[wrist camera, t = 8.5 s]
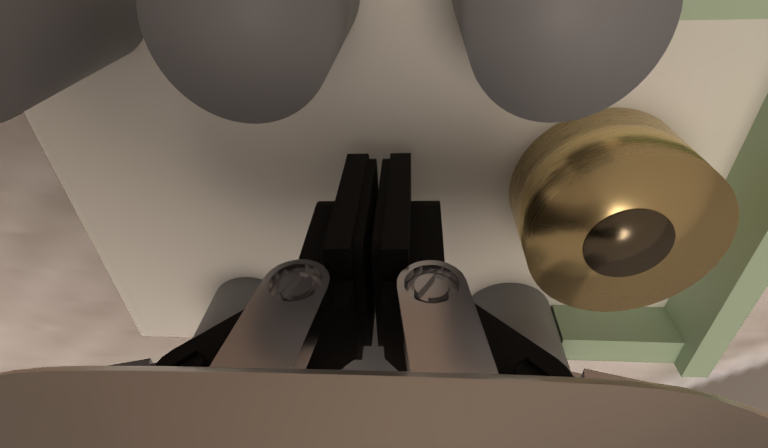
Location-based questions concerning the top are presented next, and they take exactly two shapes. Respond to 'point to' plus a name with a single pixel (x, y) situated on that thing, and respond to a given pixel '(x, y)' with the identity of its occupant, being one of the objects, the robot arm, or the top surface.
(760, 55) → the board
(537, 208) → the gold short round piece
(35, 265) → the top surface
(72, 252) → the top surface
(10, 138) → the top surface
